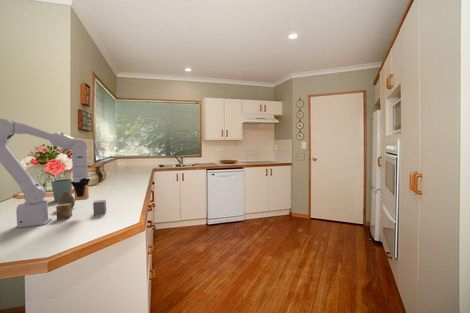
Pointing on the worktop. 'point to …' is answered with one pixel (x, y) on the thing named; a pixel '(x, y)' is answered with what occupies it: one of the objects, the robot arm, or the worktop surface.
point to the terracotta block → (85, 196)
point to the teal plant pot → (61, 187)
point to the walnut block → (64, 211)
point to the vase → (66, 199)
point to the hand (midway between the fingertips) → (81, 195)
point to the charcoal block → (99, 207)
